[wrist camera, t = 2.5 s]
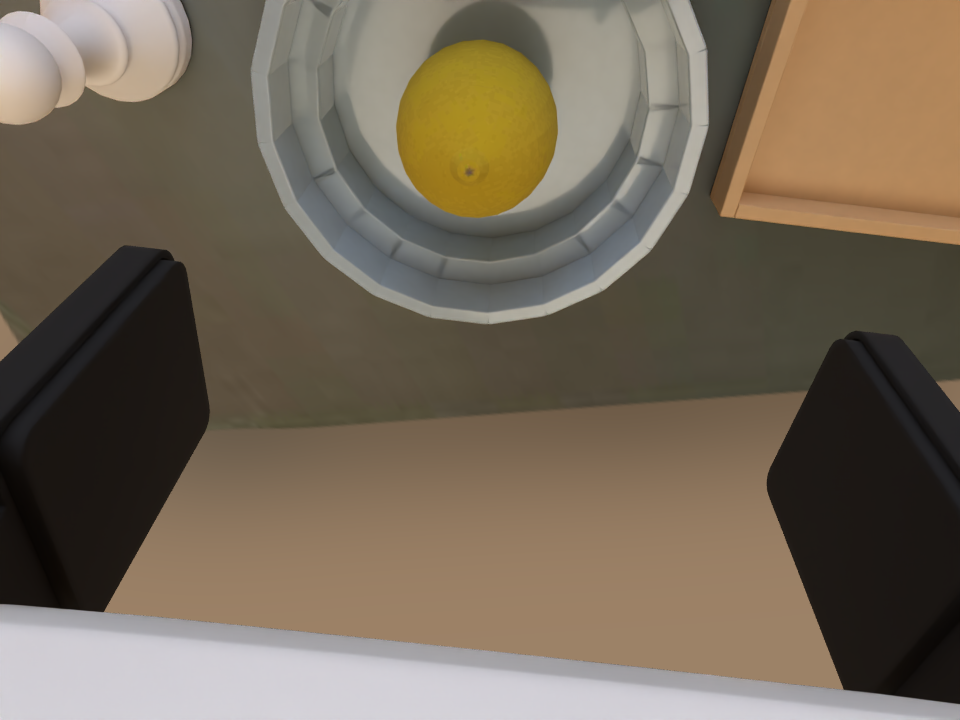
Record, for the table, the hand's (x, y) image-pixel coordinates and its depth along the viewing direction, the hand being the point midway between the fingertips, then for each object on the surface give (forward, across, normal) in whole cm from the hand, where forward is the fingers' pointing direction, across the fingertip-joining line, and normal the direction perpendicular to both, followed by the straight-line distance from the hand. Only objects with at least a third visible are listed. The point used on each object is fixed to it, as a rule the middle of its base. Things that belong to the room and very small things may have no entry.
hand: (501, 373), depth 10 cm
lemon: (+20, +1, +1) cm, 20 cm away
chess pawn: (+20, +15, 0) cm, 25 cm away
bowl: (+20, +1, +1) cm, 20 cm away
